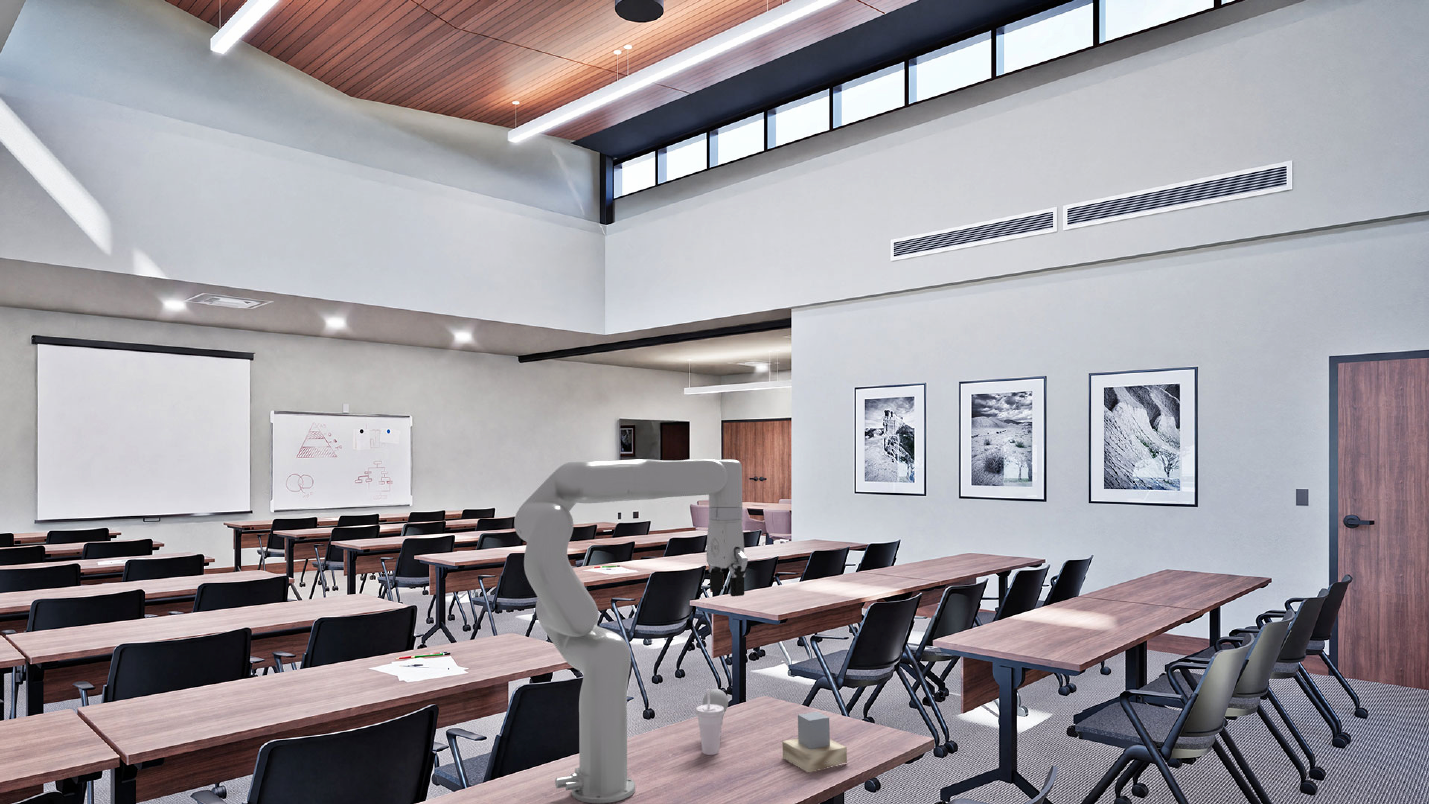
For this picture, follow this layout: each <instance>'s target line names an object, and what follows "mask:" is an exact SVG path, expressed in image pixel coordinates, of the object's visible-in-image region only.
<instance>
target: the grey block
mask: <svg viewBox="0 0 1429 804" xmlns="http://www.w3.org/2000/svg"><path fill="white" fill-rule="evenodd" d="M830 728H831V727H830V717H829V716H827V715H825V714H823V713H821V712H819V711H812V712H811V711H810V712H806V713H805V712H804V713H799V714H797V734H798V735H797V738H798V743H800V744H802V745H803V746H805V747H807V748H808V749H815V748H821V747H827V746H830V739H831V737H830V736H831V735H830V734H831V733H830Z"/></svg>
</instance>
